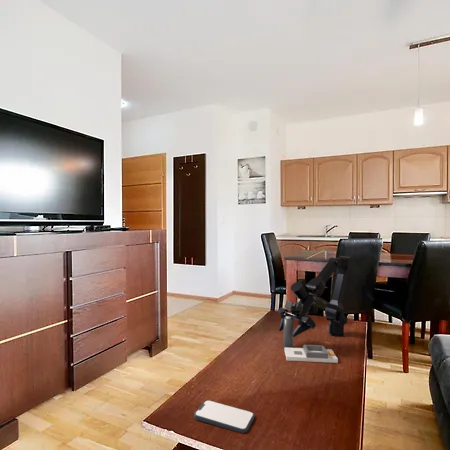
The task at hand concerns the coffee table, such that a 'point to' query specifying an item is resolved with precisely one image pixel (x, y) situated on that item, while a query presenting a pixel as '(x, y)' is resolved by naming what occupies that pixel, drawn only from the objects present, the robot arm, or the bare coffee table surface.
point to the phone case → (224, 416)
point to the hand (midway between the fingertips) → (286, 333)
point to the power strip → (311, 354)
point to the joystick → (288, 332)
